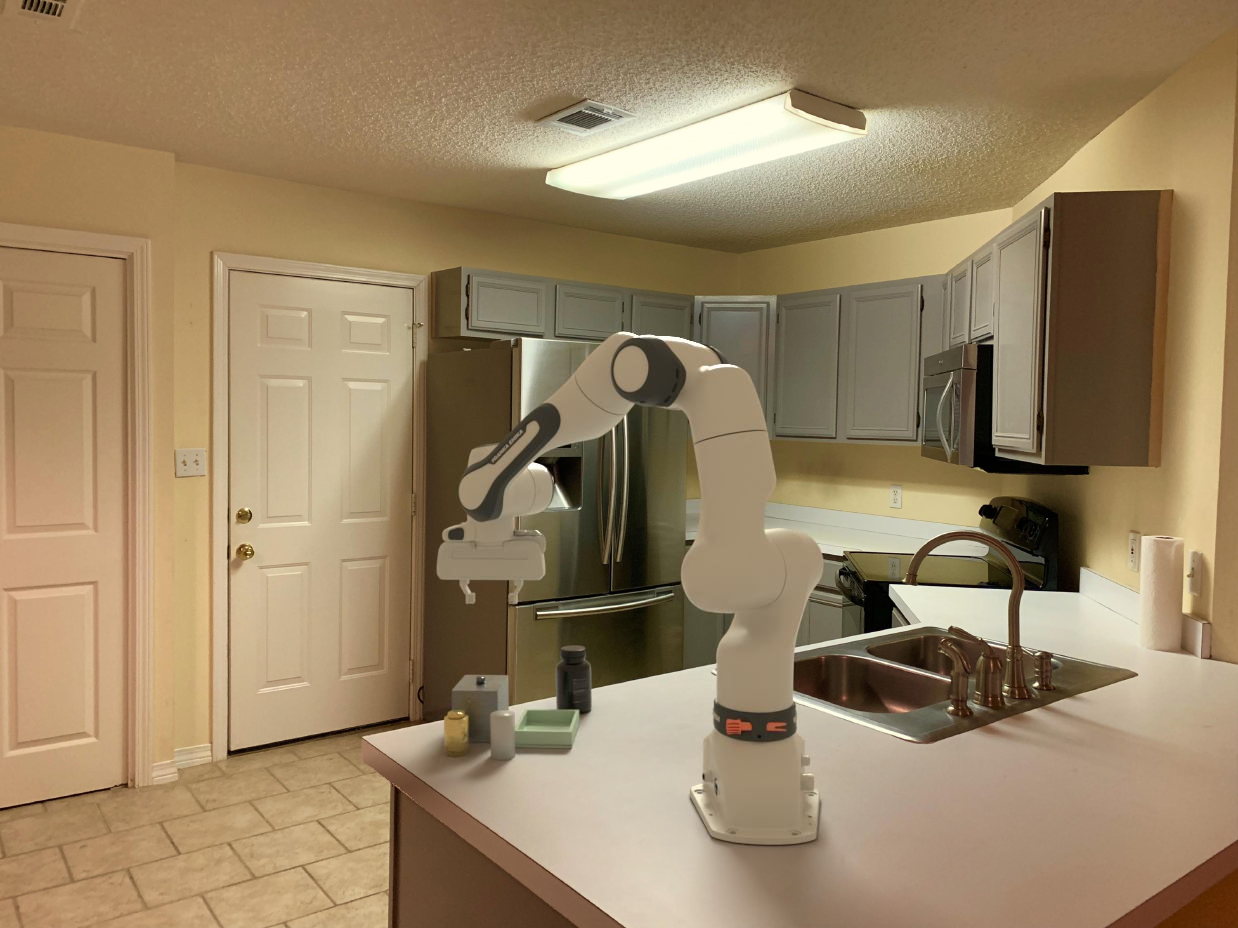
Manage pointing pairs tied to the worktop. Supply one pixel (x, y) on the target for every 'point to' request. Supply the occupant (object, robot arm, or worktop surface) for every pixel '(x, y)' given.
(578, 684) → the supplement bottle
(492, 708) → the box
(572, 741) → the tray
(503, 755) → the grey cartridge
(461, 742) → the brass fitting
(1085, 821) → the worktop surface
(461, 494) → the robot arm
